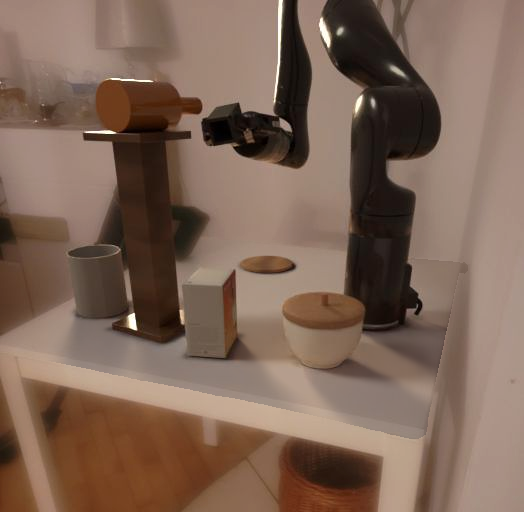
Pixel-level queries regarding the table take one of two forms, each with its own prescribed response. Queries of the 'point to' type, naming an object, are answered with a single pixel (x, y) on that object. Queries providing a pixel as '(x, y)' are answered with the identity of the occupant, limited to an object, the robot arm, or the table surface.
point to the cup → (98, 280)
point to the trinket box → (322, 327)
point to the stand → (147, 230)
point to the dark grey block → (223, 125)
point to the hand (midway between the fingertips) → (218, 122)
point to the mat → (267, 264)
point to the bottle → (142, 105)
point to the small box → (210, 311)
